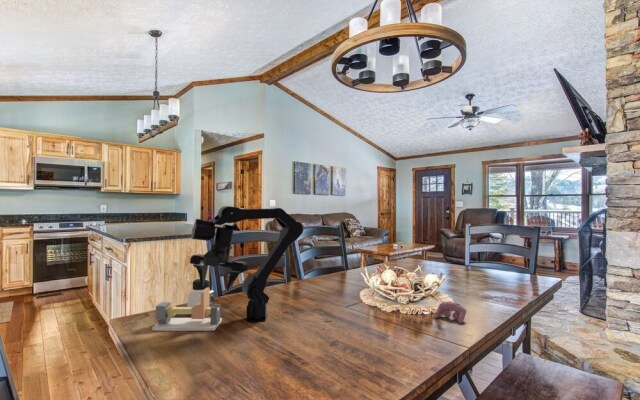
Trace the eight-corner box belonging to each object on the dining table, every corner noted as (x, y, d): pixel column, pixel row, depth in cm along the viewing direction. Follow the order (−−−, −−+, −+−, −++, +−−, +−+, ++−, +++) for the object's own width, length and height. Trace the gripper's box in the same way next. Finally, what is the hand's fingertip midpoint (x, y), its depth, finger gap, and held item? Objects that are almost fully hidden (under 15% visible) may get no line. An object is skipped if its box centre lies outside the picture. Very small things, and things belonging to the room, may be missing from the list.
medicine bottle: (204, 314, 123) (204, 282, 123) (186, 313, 124) (187, 281, 124) (214, 308, 130) (214, 278, 130) (197, 307, 131) (197, 277, 131)
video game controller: (465, 326, 117) (468, 306, 120) (461, 323, 114) (464, 303, 117) (438, 319, 124) (441, 300, 126) (433, 316, 121) (437, 297, 123)
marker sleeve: (209, 313, 115) (209, 287, 115) (203, 319, 109) (203, 292, 109) (197, 313, 115) (198, 287, 115) (191, 319, 109) (191, 292, 109)
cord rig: (222, 320, 117) (222, 300, 117) (214, 330, 108) (214, 308, 108) (164, 320, 116) (164, 300, 116) (152, 330, 107) (152, 308, 107)
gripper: (185, 238, 107) (176, 287, 105) (240, 247, 104) (232, 297, 103) (201, 238, 118) (193, 282, 116) (251, 246, 115) (244, 291, 114)
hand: (215, 288), depth 112 cm, fingers open, 9 cm apart
